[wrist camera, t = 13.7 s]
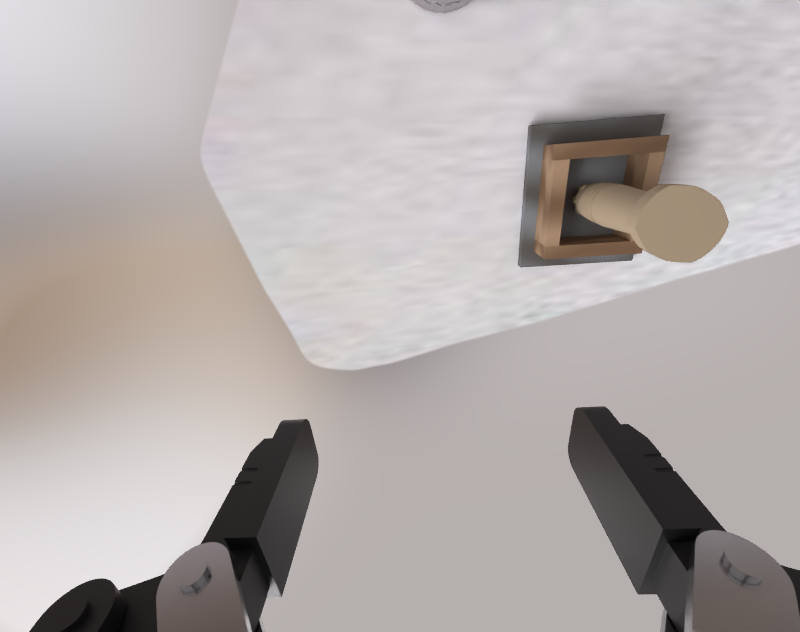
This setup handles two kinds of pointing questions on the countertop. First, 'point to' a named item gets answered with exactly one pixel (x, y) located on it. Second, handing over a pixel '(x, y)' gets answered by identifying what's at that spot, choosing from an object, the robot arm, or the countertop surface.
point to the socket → (583, 165)
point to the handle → (657, 217)
